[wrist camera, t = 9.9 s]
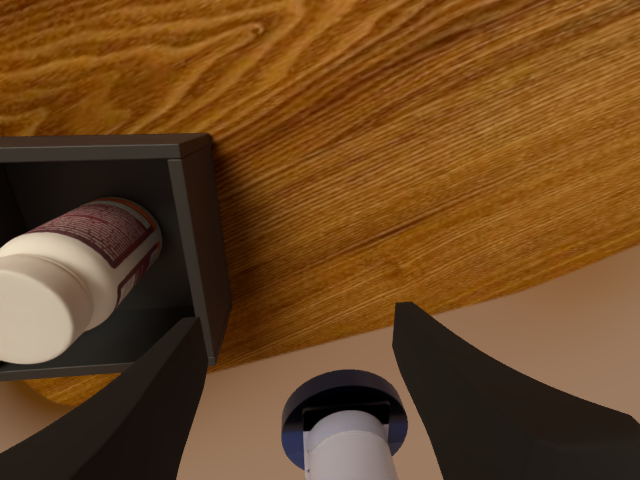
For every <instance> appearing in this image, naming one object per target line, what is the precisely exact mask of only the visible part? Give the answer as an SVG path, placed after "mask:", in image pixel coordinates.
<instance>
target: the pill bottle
mask: <svg viewBox="0 0 640 480" xmlns="http://www.w3.org/2000/svg"><path fill="white" fill-rule="evenodd" d="M161 249H162V234H161V230H160V227H159V224H158V222H157V221H156V219H155V218H154V217H153V216H152V215H151V214H150V212H149V211H147V210H146V209H145V208H144V207H142V206H141V205H139V204H137V203H135V202H134V201H131V200H128V199H125V198H120V197H102V198H97V199H95V200H92V201H90V202H88V203H86V204H84V205H81V206H80V207H78V208H76V209H74V210H71V211H69V212H67V213H66V214H64V215H61V216H59V217H57V218H55V219H53V220H51V221H49V222H47V223H45V224H43V225H41V226H39V227H37V228H35V229H33V230H31V231H29V232H27V233H24V234H22V235H20V236H17V237H15V238H13V239H12V240H10V241H9V242H7V243H6V244H5V245H4V246H2V247H1V248H0V360H1V361H5V362H10V363H15V364H37V363H42V362H46V361H49V360H51V359H54V358H56V357H57V356H59V355H61V354H62V353H63V352H65V351H66V350H67V349H68V348H69V347H70V346H71V345H72V344H73V342H74V341H75V340H76V339H77V338H78V337H79V336H80V335H81V334H82V333H83V332H85V331H87V330H90V329H92V328H94V327H96V326H98V325H99V324H101V323H102V322H104V321H105V320H106V319H107V318H108V317H109V316H110V315H111V314H112V313H113V312H114V310H115V309H116V308H117V306H118V305H119V304H120V303H121V301H122V300H123V299H124V298H125V297H126V295H127V294H128V293H129V292H130V291H131V289H132V288H133V287H134V286H135V285H136V284H137V282H138V281H139V280H140V279H141V278H142V276H143V275H144V274H145V273H146V271H147V270H148V269H149V268H150V267H151V266H152V264H153V263H154V262H155V261H156V259H157V258H158V256H159V254H160V252H161Z"/></svg>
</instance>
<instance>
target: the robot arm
mask: <svg viewBox="0 0 640 480" xmlns="http://www.w3.org/2000/svg"><path fill="white" fill-rule="evenodd" d="M392 347H393V350H394V354H395V357H396V361H397V364H398V367H399V370H400V373H401V375H402V377H403V380H404V382H405V384H406V386H407V389H408V391H409V393H410V395H411V397H412V399H413V402H414V404H415V406H416V408H417V411H418V413H419V415H420V417H421V419H422V422H423V424H424V426H425V428H426V431H427V433H428V435H429V438H430V441H431V443H432V446H433V449H434V452H435V455H436V458H437V461H438V464H439V467H440V470H441V473H442V476H443V479H444V480H640V424H639V423H638V422H637V421H636V420H635V419H634V418H633V417H632V416H630V415H628V414H625V413H622V412H619V411H616V410H613V409H610V408H607V407H604V406H601V405H598V404H595V403H592V402H589V401H586V400H584V399H581V398H578V397H575V396H573V395H570V394H568V393H566V392H563V391H560V390H558V389H555V388H553V387H551V386H548V385H546V384H544V383H541V382H539V381H537V380H535V379H533V378H531V377H529V376H526V375H524V374H522V373H520V372H518V371H516V370H514V369H512V368H510V367H508V366H506V365H505V364H503V363H501V362H499V361H497V360H495V359H494V358H492V357H490V356H488V355H487V354H485V353H483V352H482V351H480V350H478V349H477V348H475V347H474V346H472V345H470V344H469V343H468V342H466V341H465V340H463V339H462V338H460V337H459V336H457V335H456V334H454V333H453V332H452V331H450V330H449V329H447V328H446V327H445V326H443V325H442V324H441V323H439V322H438V321H436V320H435V319H434V318H433V317H431V316H430V315H429V314H427V313H426V312H425V311H424V310H422V309H421V308H420V307H418V306H417V305H416V304H414V303H413V302H401V303H396V306H395V318H394V331H393V343H392ZM207 367H208V356H207V351H206V346H205V341H204V336H203V330H202V325H201V320H200V317H190V318H182V319H181V320H180V321H179V322H178V323H176V324H175V325H174V326H173V327H172V328H171V329H170V330H169V331H168V332H167V333H166V334H165V335H164V336H163V337H162V338H161V339H160V340H159V341H158V342H157V343H156V344H154V345H153V346H152V347H151V348H150V349H149V350H148V351H147V352H146V353H145V354H144V355H143V356H142V357H140V358H139V359H138V360H137V361H136V362H135V363H133V364H132V365H131V366H130V367H129V368H128V369H126V370H125V371H124V372H123V373H122V374H121V375H119V376H118V377H117V378H116V379H115V380H113V381H112V382H111V383H109V384H108V385H107V386H106V387H104V388H103V389H102V390H100V391H99V392H98V393H96V394H95V395H93V396H92V397H91V398H89V399H88V400H87V401H85V402H84V403H82V404H81V405H79V406H78V407H76V408H75V409H73V410H72V411H70V412H69V413H67V414H66V415H64V416H63V417H61V418H59V419H58V420H57V421H55V422H53V423H52V424H50V425H49V426H47V427H45V428H44V429H42V430H41V431H39V432H37V433H36V434H34V435H32V436H30V437H29V438H27V439H25V440H24V441H22V442H20V443H18V444H16V445H15V446H13V447H11V448H9V449H8V450H6V451H4V452H2V453H0V480H176V477H177V473H178V468H179V464H180V461H181V457H182V454H183V450H184V447H185V444H186V441H187V438H188V435H189V432H190V429H191V426H192V423H193V420H194V417H195V413H196V410H197V407H198V404H199V401H200V397H201V395H202V391H203V388H204V383H205V378H206V373H207ZM390 408H391V407H390V403H389V402H388V401H373V402H361V403H349V404H337V405H325V406H313V407H306V408H304V409H303V411H302V417H303V440H304V464H305V479H306V480H398V476H397V473H396V470H395V466H394V463H393V459H392V456H391V452H390V449H389V446H388V442H387V440H388V429H389V419H390ZM308 416H309V417H308Z"/></svg>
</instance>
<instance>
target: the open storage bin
mask: <svg viewBox="0 0 640 480" xmlns="http://www.w3.org/2000/svg"><path fill="white" fill-rule="evenodd" d="M102 197H120V198H125V199H128V200H131V201H134V202H135V203H137V204H139V205H141V206H142V207H144V208H145V209H146V210H147V211H149V212H150V214H151V215H152V216H153V217H154V218H155V219H156V221H157V222H158V224H159V227H160V230H161V234H162V249H161V252H160V254H159V256H158V258H157V259H156V261H155V262H154V263H153V264H152V266H151V267H150V268H149V269H148V270H147V271H146V273H145V274H144V275H143V276H142V278H141V279H140V280H139V281H138V282H137V284H136V285H135V286H134V287H133V288H132V289H131V291H130V292H129V293H128V294H127V295H126V297H125V298H124V299H123V300H122V301H121V303H120V304H119V305H118V306H117V308H116V309H115V310H114V312H113V313H112V314H111V315H110V316H109V317H108V318H107V319H106V320H105V321H104V322H102V323H101V324H99V325H98V326H96V327H94V328H92V329H90V330H87V331H85V332H83V333H82V334H81V335H80V336H79V337H78V338H77V339H76V340H75V341H74V342H73V344H72V345H71V346H70V347H69V348H68V349H67V350H66V351H65V352H63V353H62V354H61V355H59V356H57V357H56V358H54V359H51V360H49V361H46V362H42V363H37V364H15V363H10V362H5V361H1V360H0V381H11V380H25V379H39V378H53V377H67V376H81V375H95V374H109V373H122V372H124V371H125V370H126V369H128V368H129V367H130V366H131V365H132V364H133V363H135V362H136V361H137V360H138V359H139V358H140V357H142V356H143V355H144V354H145V353H146V352H147V351H148V350H149V349H150V348H151V347H152V346H153V345H154V344H156V343H157V342H158V341H159V340H160V339H161V338H162V337H163V336H164V335H165V334H166V333H167V332H168V331H169V330H170V329H171V328H172V327H173V326H174V325H175V324H176V323H178V322H179V321H180V320H181V319H182V318H190V317H200V320H201V325H202V330H203V336H204V341H205V346H206V351H207V356H208V366H215V365H216V363H217V359H218V356H219V352H220V348H221V345H222V341H223V338H224V334H225V330H226V327H227V323H228V320H229V316H230V313H231V309H232V303H231V295H230V287H229V280H228V272H227V264H226V257H225V249H224V241H223V233H222V226H221V218H220V210H219V203H218V195H217V187H216V180H215V172H214V164H213V157H212V149H211V141H210V134H209V133H186V134H131V135H77V136H22V137H0V248H1V247H2V246H4V245H5V244H6V243H7V242H9V241H10V240H12V239H13V238H15V237H17V236H20V235H22V234H24V233H27V232H29V231H31V230H33V229H35V228H37V227H39V226H41V225H43V224H45V223H47V222H49V221H51V220H53V219H55V218H57V217H59V216H61V215H64V214H66V213H67V212H69V211H71V210H74V209H76V208H78V207H80V206H81V205H84V204H86V203H88V202H90V201H92V200H95V199H97V198H102Z"/></svg>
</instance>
